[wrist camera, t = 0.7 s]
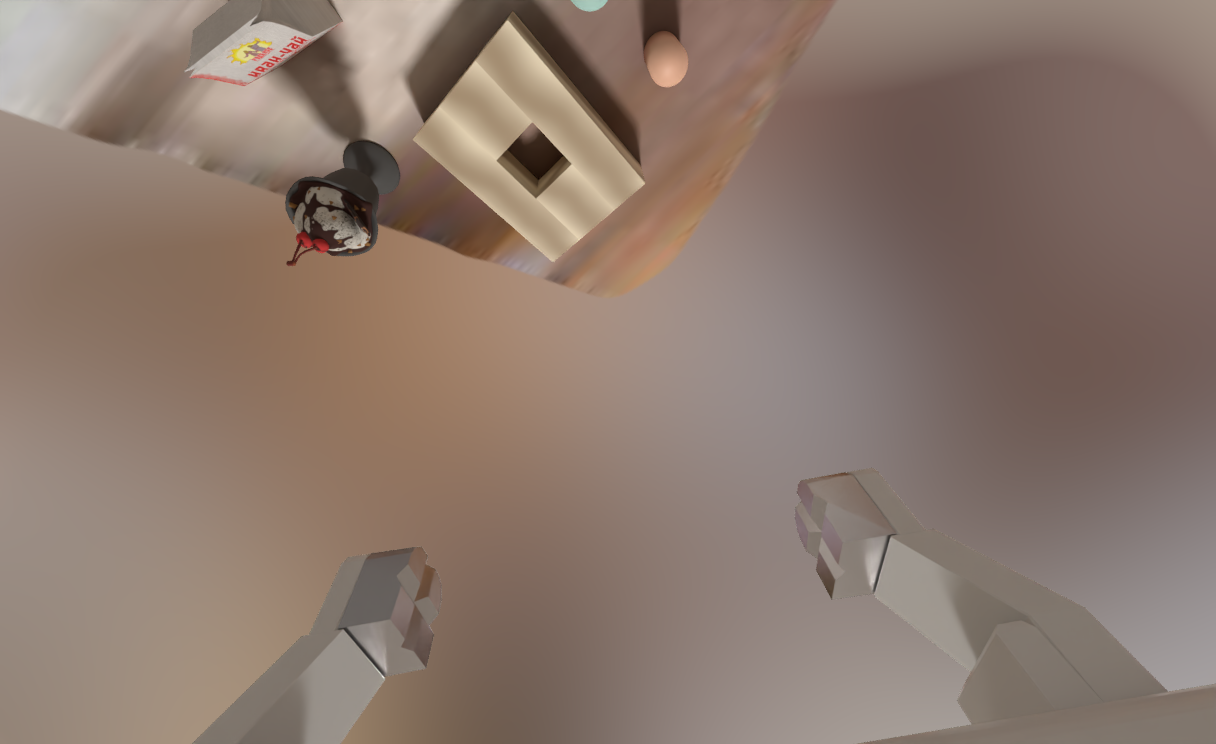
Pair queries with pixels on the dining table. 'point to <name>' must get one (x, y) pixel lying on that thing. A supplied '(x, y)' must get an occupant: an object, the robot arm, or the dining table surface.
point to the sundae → (342, 203)
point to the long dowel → (589, 4)
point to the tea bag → (256, 37)
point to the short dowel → (665, 59)
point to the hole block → (498, 114)
